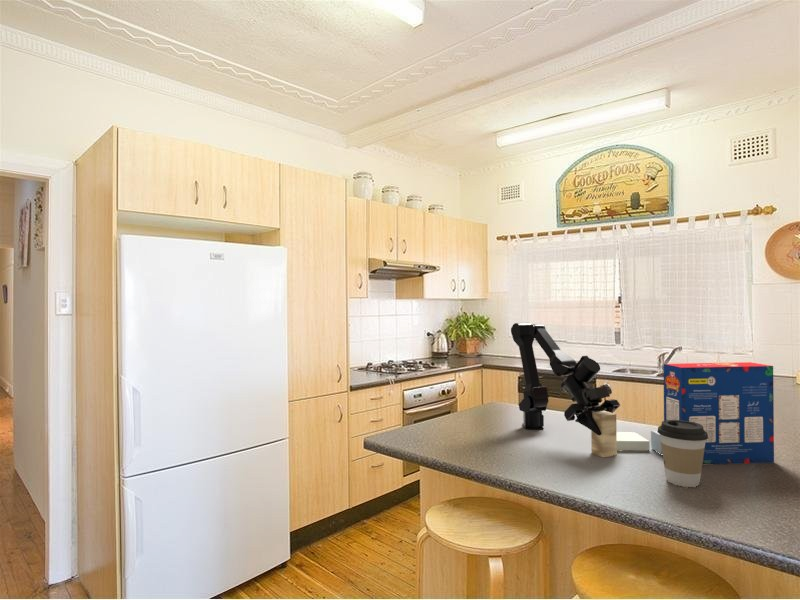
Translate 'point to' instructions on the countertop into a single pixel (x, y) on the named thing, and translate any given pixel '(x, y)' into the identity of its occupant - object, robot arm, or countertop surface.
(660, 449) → the grey cube
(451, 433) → the countertop surface
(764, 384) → the pasta box
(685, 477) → the coffee cup
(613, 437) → the pillar
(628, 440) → the plinth
